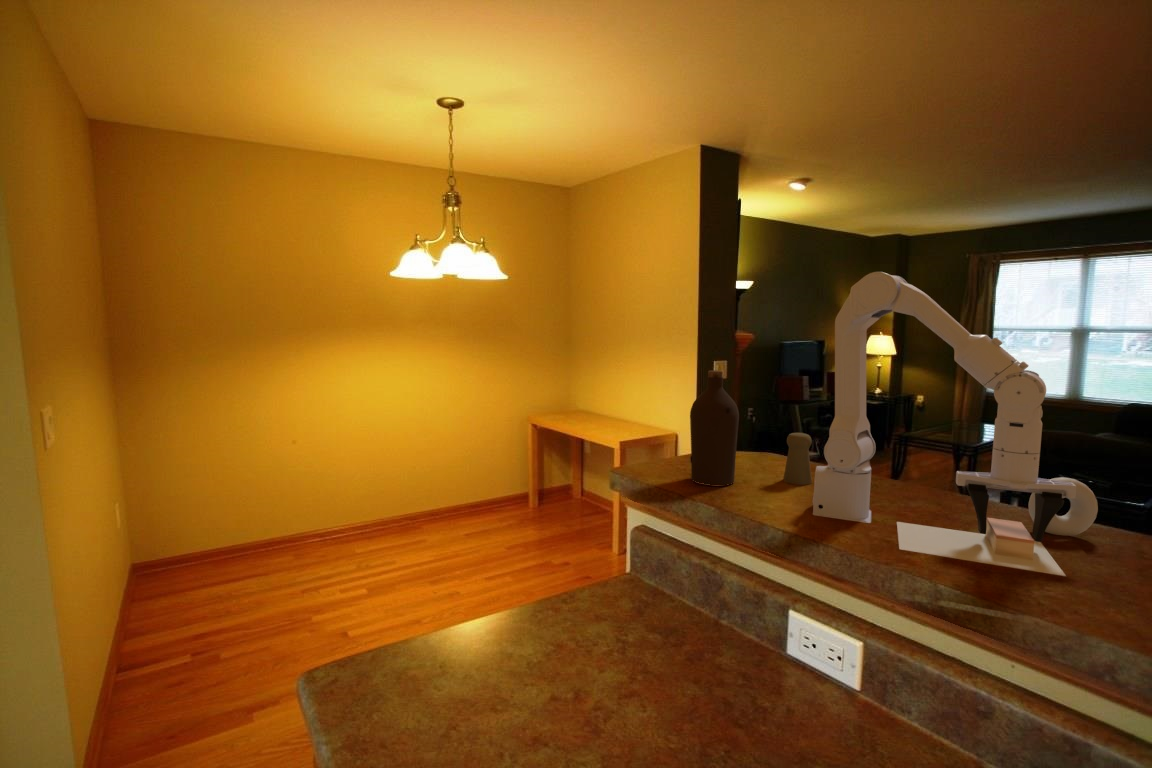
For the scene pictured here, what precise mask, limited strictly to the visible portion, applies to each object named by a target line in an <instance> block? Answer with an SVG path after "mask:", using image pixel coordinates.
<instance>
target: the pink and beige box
mask: <svg viewBox="0 0 1152 768" xmlns="http://www.w3.org/2000/svg"><path fill="white" fill-rule="evenodd" d="M986 537H987V539H988V541H989V543H990V545H991V547H992V549H993V551H994V553H995V554H996V555H1002V556H1009V557H1015V558H1021V559H1028V560H1033V552H1034V541H1035V540H1034V539H1033V537H1032V535H1031V533H1030V532H1029V531H1028V530H1027V528H1026V526H1025V525H1024V524H1023V522H1022V521H1016V520H1008V519H1000V518H994V517H986Z"/></svg>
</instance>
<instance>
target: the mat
mask: <svg viewBox="0 0 1152 768" xmlns="http://www.w3.org/2000/svg"><path fill="white" fill-rule="evenodd" d="M896 526H897V528H896V529H897V530H896V531H897V539H898V550H902V551H907V552H913V553H914V552H915V553H918V554H919V553H920V554H927V555H931V556H938V557H945V558H949V559H958V560H961V561H969V562H975V563H981V564H988V565H994V566H1000V567H1004V568H1005V567H1006V568H1013V569H1019V570H1025V571H1029V572H1037V573H1044V574H1049V575H1055V576H1062V577H1067V575H1066V574H1065V572H1064V571H1063V569H1061V567H1060V566H1059V565H1058V563H1057V562H1056V561H1055V559H1054V558H1053V556H1052V555H1051V554H1050V553H1049V551H1048V550H1047V548H1046V547H1045V546H1044V544H1043V543H1042V541H1041V542H1036V541H1035V540H1034V552H1033V560H1028V559H1021V558H1015V557H1009V556H1002V555H996V554H995V553H994V551H993V549H992V547H991V545H990V543H989V541H988V539H987V537H986V534H981V533H980V532H972V531H964V530H957V529H950V528H943V527H938V526H930V525H924V524H923V525H922V524H916V523H908V522H902V521H896Z"/></svg>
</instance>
